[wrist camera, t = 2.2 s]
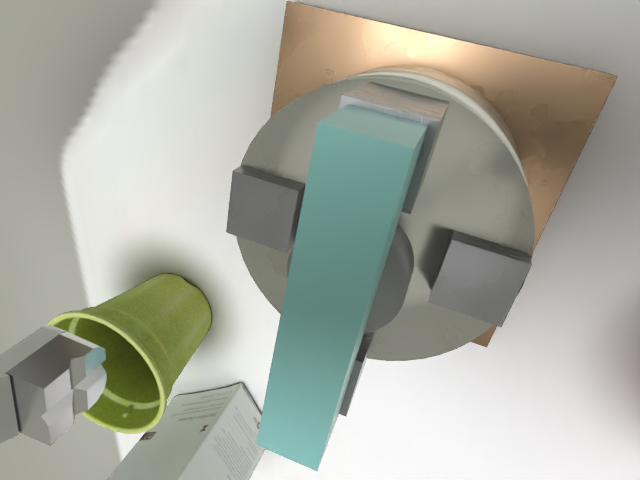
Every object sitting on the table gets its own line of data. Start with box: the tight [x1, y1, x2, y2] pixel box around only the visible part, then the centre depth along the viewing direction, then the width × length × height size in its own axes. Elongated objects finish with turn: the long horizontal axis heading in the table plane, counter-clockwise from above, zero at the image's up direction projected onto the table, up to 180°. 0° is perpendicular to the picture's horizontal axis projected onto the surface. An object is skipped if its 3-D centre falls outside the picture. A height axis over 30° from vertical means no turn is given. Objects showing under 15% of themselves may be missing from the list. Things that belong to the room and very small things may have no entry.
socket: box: [226, 1, 617, 416], centre depth 21 cm, size 16×16×12 cm
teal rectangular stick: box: [256, 104, 428, 471], centre depth 16 cm, size 4×12×5 cm, turn 169°
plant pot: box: [46, 274, 212, 434], centre depth 33 cm, size 9×9×9 cm
